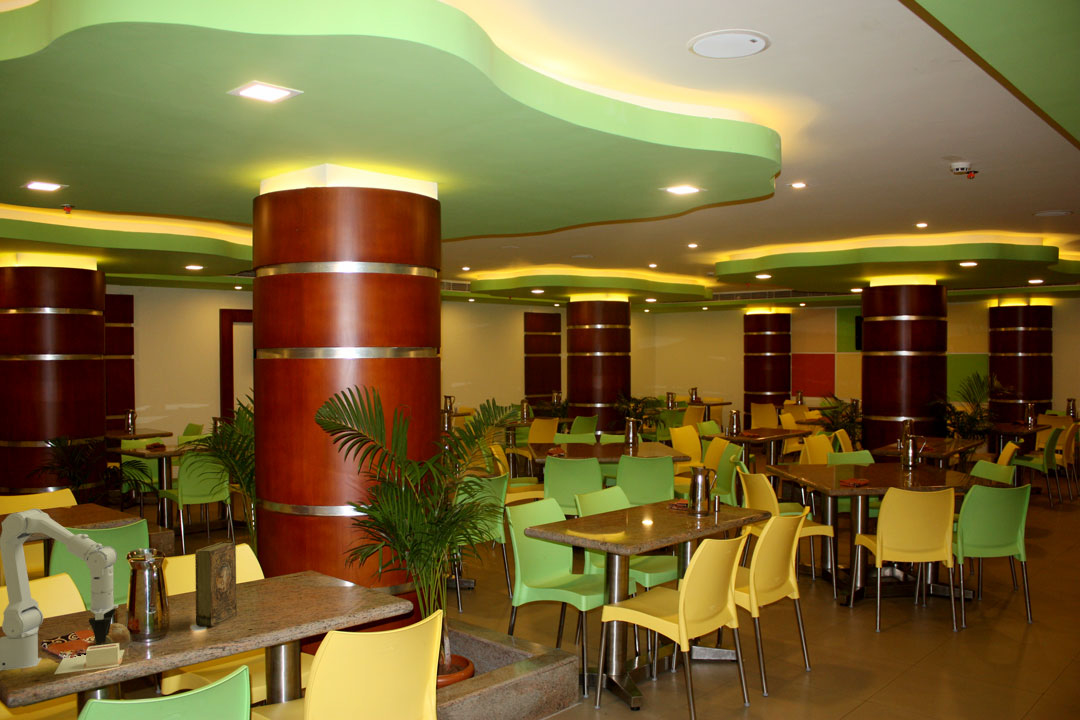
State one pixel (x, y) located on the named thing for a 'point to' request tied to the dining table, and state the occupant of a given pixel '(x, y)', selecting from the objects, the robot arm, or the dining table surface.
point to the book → (215, 583)
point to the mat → (82, 664)
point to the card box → (102, 655)
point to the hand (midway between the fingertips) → (102, 639)
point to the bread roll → (116, 635)
